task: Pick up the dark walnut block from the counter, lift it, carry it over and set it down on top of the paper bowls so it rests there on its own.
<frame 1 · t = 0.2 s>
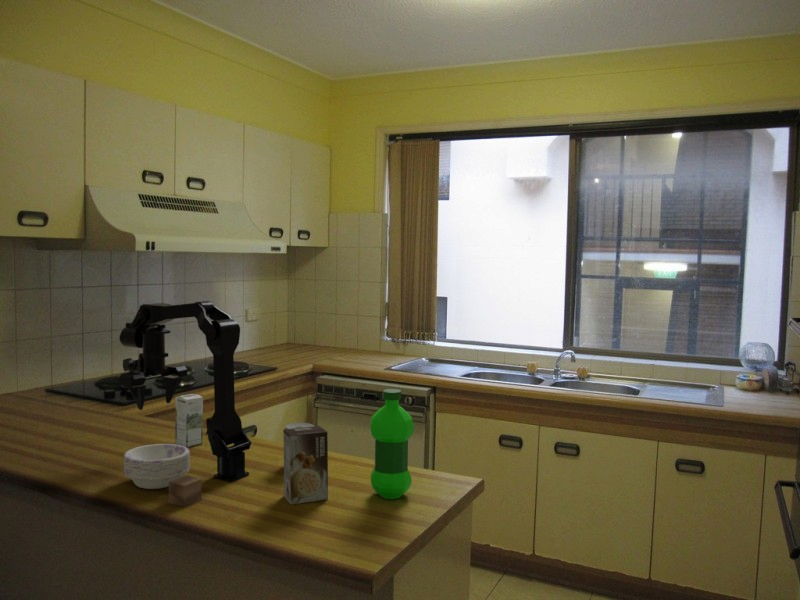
hand: (154, 406, 179), 15 cm above the counter, fingers open, 9 cm apart
walnut block: (185, 501, 150), on the counter
plastic bottle: (390, 495, 156), on the counter
syrup box: (189, 445, 194), on the counter
paper bowls: (157, 483, 161), on the counter
coffee box: (305, 498, 153), on the counter
canned food: (299, 467, 175), on the counter
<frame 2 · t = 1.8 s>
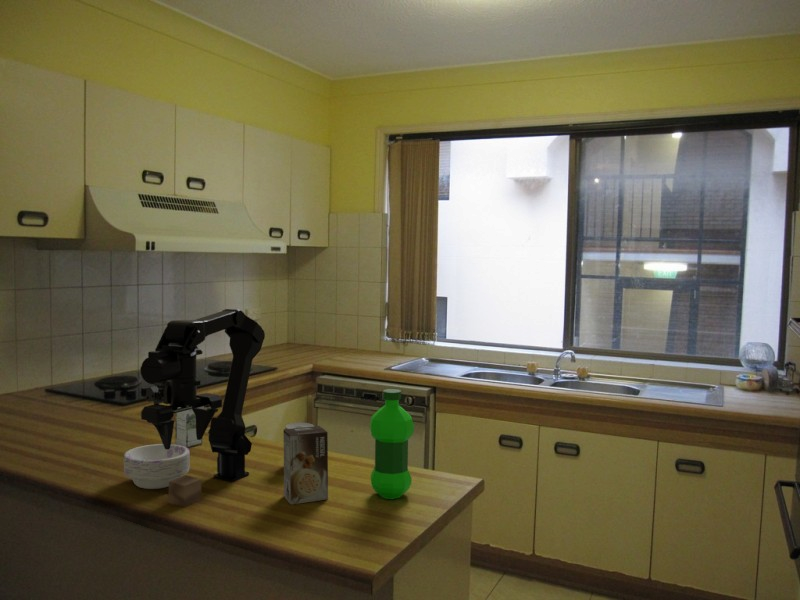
hand: (183, 444, 149), 13 cm above the counter, fingers open, 9 cm apart
nothing on the counter moved.
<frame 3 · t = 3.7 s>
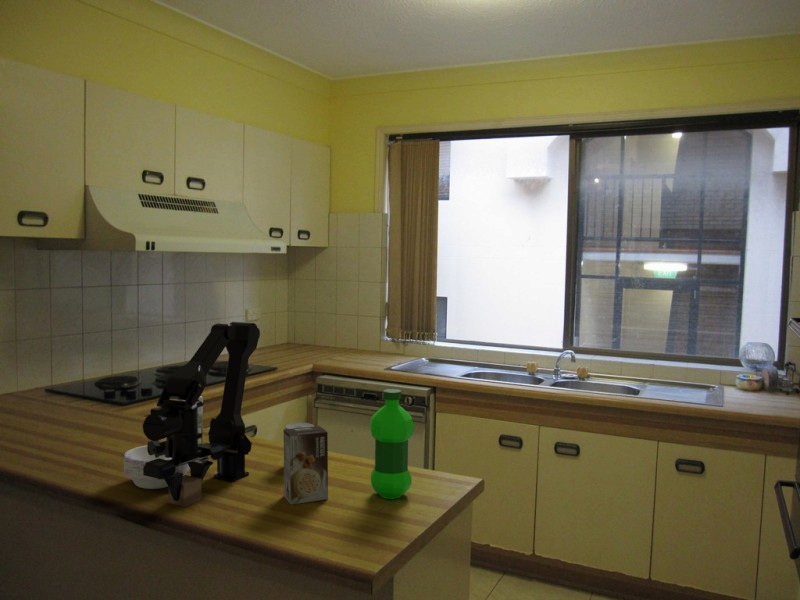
hand: (185, 496, 150), 1 cm above the counter, fingers closed on walnut block, 5 cm apart
walnut block: (185, 501, 150), on the counter, touching gripper
everything else where it was.
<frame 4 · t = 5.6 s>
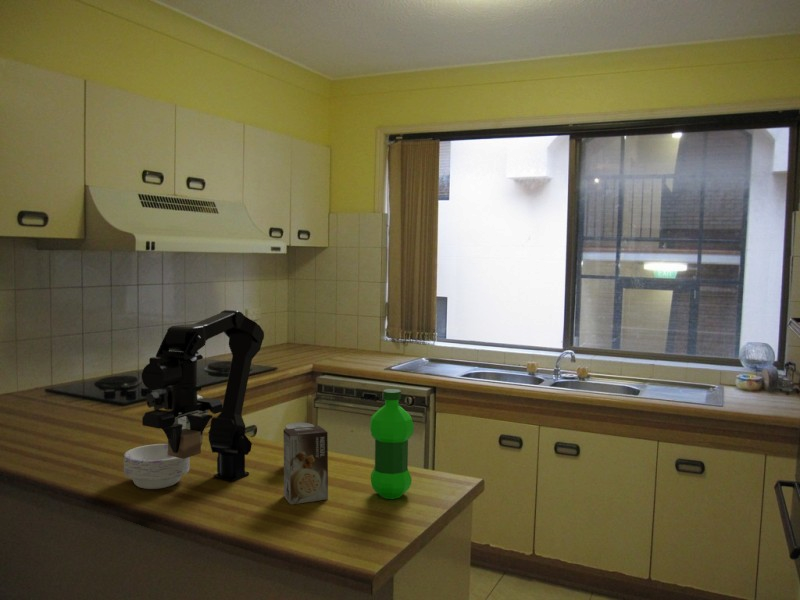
hand: (184, 449, 149), 12 cm above the counter, fingers closed on walnut block, 5 cm apart
walnut block: (184, 454, 149), point 11 cm above the counter, touching gripper
everything else where it was.
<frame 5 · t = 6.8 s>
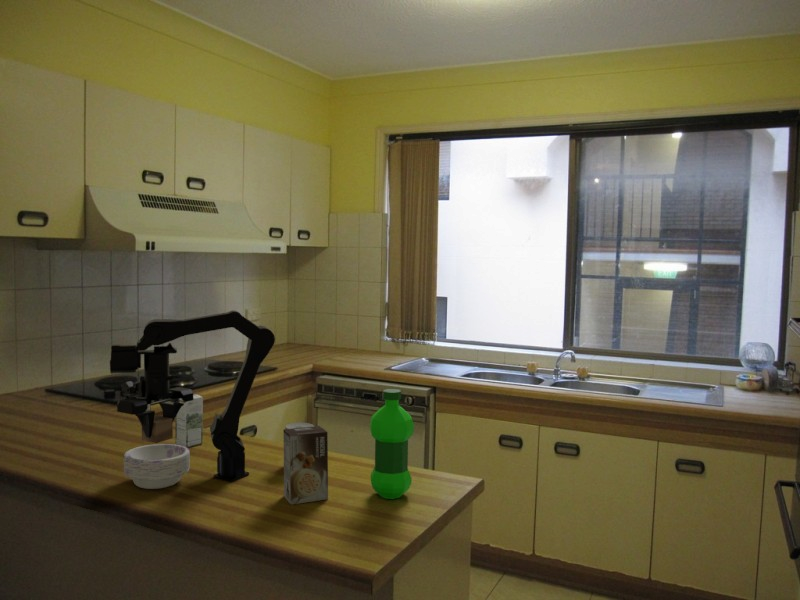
hand: (157, 434, 160), 12 cm above the counter, fingers closed on walnut block, 5 cm apart
walnut block: (157, 439, 160), point 11 cm above the counter, touching gripper
everything else where it was.
when the fingers open (10 cm above the counter, at t = 7.6 s): walnut block drops 1 cm, resting on paper bowls.
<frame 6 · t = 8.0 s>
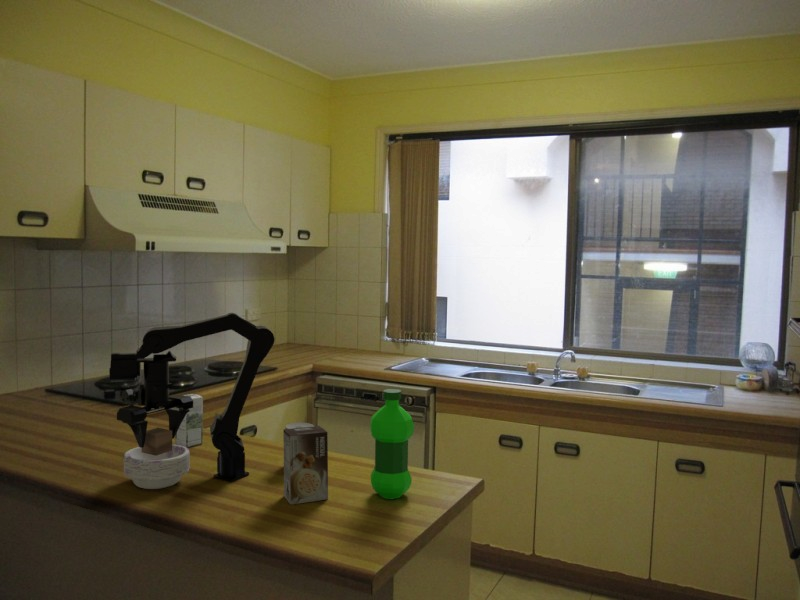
hand: (157, 442, 161), 10 cm above the counter, fingers open, 9 cm apart
walnut block: (157, 451, 161), point 8 cm above the counter, touching paper bowls
paper bowls: (157, 483, 161), on the counter, touching walnut block
everything else where it was.
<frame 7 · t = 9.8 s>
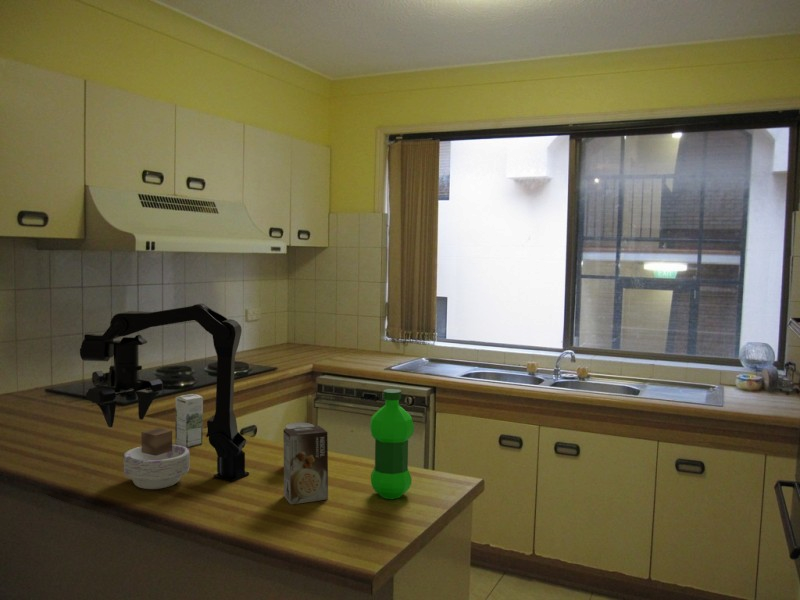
hand: (126, 423, 166), 13 cm above the counter, fingers open, 9 cm apart
nothing on the counter moved.
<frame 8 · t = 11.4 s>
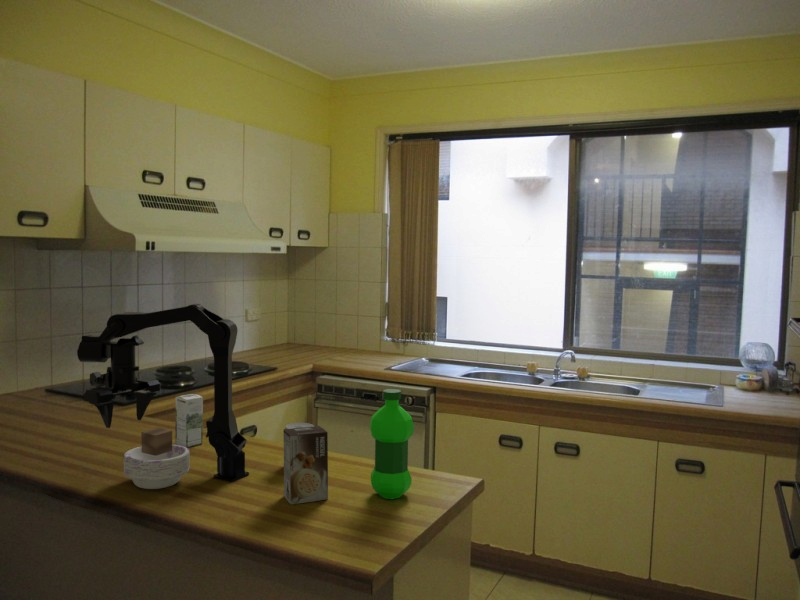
hand: (124, 423, 166), 13 cm above the counter, fingers open, 9 cm apart
nothing on the counter moved.
at the end: walnut block inside the target area on the paper bowls (0.0 cm from its centre), point 8.1 cm above the paper bowls's base; walnut block tilted 0°; the gripper is holding nothing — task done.
